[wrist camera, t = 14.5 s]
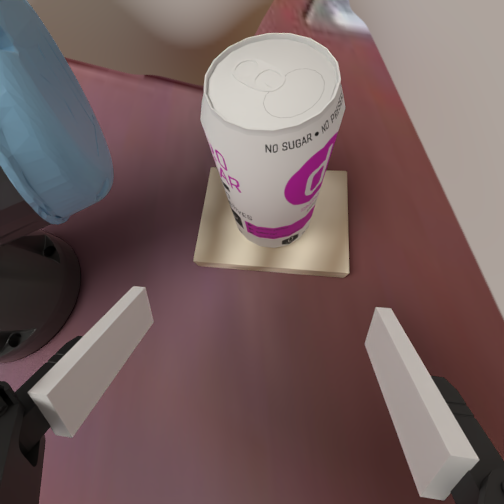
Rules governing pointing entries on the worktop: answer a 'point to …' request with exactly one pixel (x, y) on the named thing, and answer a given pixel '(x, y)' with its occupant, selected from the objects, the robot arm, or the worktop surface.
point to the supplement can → (272, 130)
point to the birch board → (285, 257)
